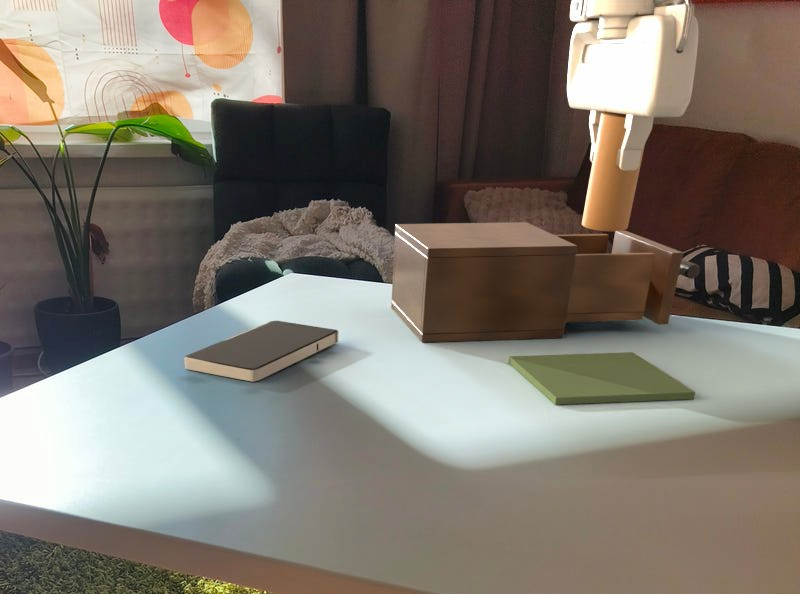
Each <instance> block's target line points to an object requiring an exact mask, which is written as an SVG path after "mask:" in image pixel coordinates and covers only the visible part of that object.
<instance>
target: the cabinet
mask: <svg viewBox="0 0 800 594" xmlns="http://www.w3.org/2000/svg"><path fill="white" fill-rule="evenodd" d="M555 235H556V234H552V233H551V232H548V231H546V230H545V229H542V228H540V227H538V226H535V225H534V224H531V223H529V222H527V221H521V222H520V221H519V222H516V221H515V222H514V221H513V222H462V223H461V222H459V223H458V222H455V223H454V222H453V223H451V222H449V223H446V222H445V223H395V225H394V242H393V243H394V245H393V265H392V283H391V284H392V287H391V306H390V307H391V309H392V310H393V312H395V313H396V315H397V316H398V317H399V318H400V319H401V321H403V323H404V324H405V325H406V326H407V327H408V328H409V330H410V331H411V333H413V334H414V335H415V336H416V338H417V339H419V341H420V342H421V343H447V342H449V343H450V342H477V341H478V342H480V341H508V340H509V341H510V340H539V339H540V340H542V339H543V340H544V339H564V337H565V329H566V324H567V322H566V317H567V311H568V304H569V298H570V291H571V285H572V278H573V272H574V265H575V259H576V253H577V245H574V244H572V243H570V242H568V241H566V240H564V239H562V238H559V237H557V236H555Z"/></svg>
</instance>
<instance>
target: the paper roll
mask: <svg viewBox="0 0 800 594" xmlns="http://www.w3.org/2000/svg"><path fill="white" fill-rule="evenodd" d="M625 120H626V114H618V113H610V112H602V113H601V117H600V123H599V129H598V134H597V140H596V146H595V151H594V157H593V163H592V162H591V169H590V174H589V179H588V185H587V186H588V187H587V190H586V191H587V192H586V196H585V203H584V209H583V214H582V220H581V226H583V227H584V228H585V229H589V230H593V231H597V232H598V231H599V232H615V231H626V230H627V229H628V228H629V223H630V218H631V214H632V208H633V203H634V199H635V194H636V189H637V183H638V179H639V176H640V169H641V165H642V161H643V156H644V150H645V146H646V144H645V145H644V147H643V149H642V151H641V157H640V162H639V166H638V168H637V169H636V170H627V171H624V170H620V169H617V168H616V166H615V162H616V159H617V158H616V155H617V149H618V148H621V147H622V143H623V140H624V137H625V134H626V131H627V129H626V128H625Z"/></svg>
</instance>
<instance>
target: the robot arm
mask: <svg viewBox="0 0 800 594" xmlns="http://www.w3.org/2000/svg"><path fill="white" fill-rule="evenodd" d="M694 15H695V4H693V3H692V0H571V2H570V11H569V19H570V21H571V22H573V23H574V22H575V23H576V24H575V25H574V27H573V30H572V34H571V38H570V45H569V53H568V55H569V56H568V65H567V66H568V67H567V79H566V80H567V83H566V94H567V103H568V106H569V107H570V108H571V109H576V110H585V111H590V114H589V122H588V126H589V134H590V143H591V147H590V156H589V161H590V162H591V164H592V163H593V157H594V151H595V146H596V140H597V134H598V129H599V123H600V117H601V113H602V112H610V113H618V114H626V120H625V128H626V129H627V131H626V134H625V137H624V140H623V143H622V147H621V148H618V149H617V155H616V158H617V159H616V162H615V166H616V168H617V169H620V170H624V171H627V170H636V169H637V168H638V166H639V162H640V157H641V151H642V149H643V147H644V148H645V146H646V142H647V140H648V138H649V136H650V134H651V132H652V130H653V126H654V120H655V118H680V117H682V116H683V115H684V114H685V112H686V111H687V108H688V106H689V105H690V102H691V99H692V92H693V87H694V80H695V74H696V64H697V57H698V45H699V23H698V19H697V18H696V17H695V16H694ZM644 145H645V146H644Z"/></svg>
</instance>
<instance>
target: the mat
mask: <svg viewBox="0 0 800 594" xmlns="http://www.w3.org/2000/svg"><path fill="white" fill-rule="evenodd" d="M508 364H509V365H510V366H512V368H514V369H515V370H516V371H517V372H518V373H519V374H520V375H521V376H522V377H524V379H526V380H527V381H528V382H529V383H531V384H532V386H533V387H535V388H536V389H537V390H538V391H539V392H541V394H543V396H545V397H546V398H547V399H548V400H549V401H550V402H551V403H552V404H554V405H555V406H556V405H559V406H560V405H580V404H581V405H582V404H583V405H584V404H604V403H605V404H607V403H609V404H610V403H629V402H630V403H631V402H633V403H634V402H653V401H654V402H656V401H657V402H658V401H679V400H680V401H682V400H694V399H695V397H696V391H694V390H693V389H691V388H690V387H688V386H687V385H685V384H684V383H682V382H680V381H679V380H678V379H676V378H674V377H673V376H671V375H669V374H668V373H666V372H665V371H663V370H661V369H660V368H658V367H657V366H655V365H654V364H652V363H651V362H649V361H648V360H646V359H644V358H643V357H641V356H640V355H638V354H637V353H635V352H633V351H628V352H627V351H624V352H597V353H596V352H595V353H594V352H593V353H569V354H567V353H565V354H539V355H537V354H536V355H510V356H509V357H508Z"/></svg>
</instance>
